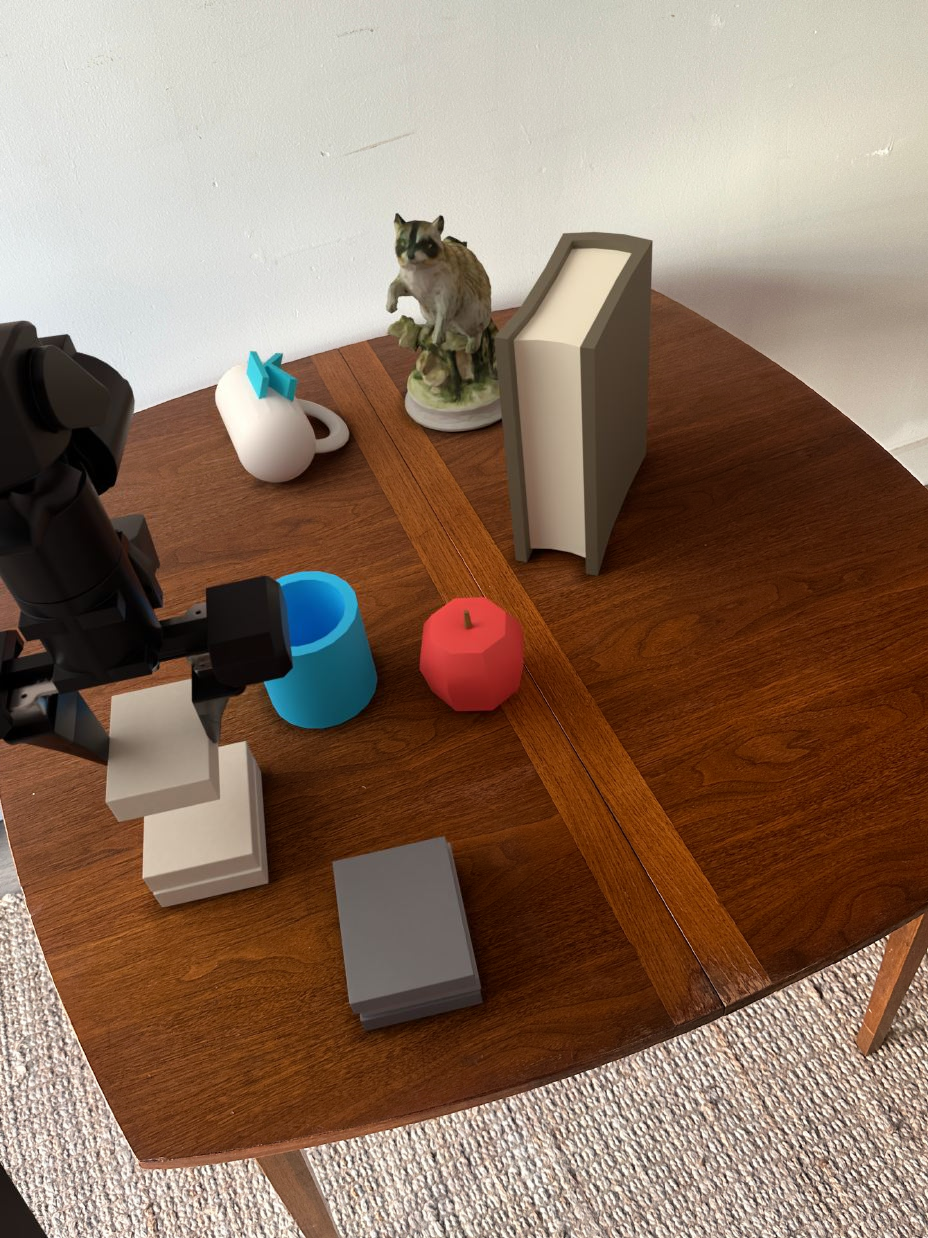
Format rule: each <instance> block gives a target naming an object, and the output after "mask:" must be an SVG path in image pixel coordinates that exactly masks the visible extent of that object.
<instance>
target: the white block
mask: <svg viewBox="0 0 928 1238" xmlns="http://www.w3.org/2000/svg"><path fill="white" fill-rule="evenodd" d="M109 719H110V720H109V721H110V722H109V737H110V740H109V756H108V766H107V768H106V769H107V772H106V773H107V774H106V786H105V787H106V788H105V789H106V791H105V803H106V805H107V806H108V808H109V809H110V811H111V812H112V814H113V815H114V817H115V818H116V820H117V821H118V823H122V822H125V821H130V820H131V821H132V820H135V819H139V818H144V816H149V815H153V814H157V813H162V812H166V811H171V810H175V809H180V808H184V807H189V806H193V805H197V804H202V803H206V802H211V801H215V800H219V799H220V779H219V750H218V747H219V743H215V744H214V743H213V742H212V741H211V740H210V739H209V738H208V737H207V735H206V733H205V730H204V728H203V726H202V724H201V721H200V719H199V717H198V715H197V712H196V710H195V708H194V705H193V703H192V682H191V678H188V679H187V678H186V679H184V680H179V681H178V680H177V681H174V682H169V683H165V684H160V685H156V686H152V687H147V688H146V687H145V688H142V689H138V690H132V691H128V692H124V693H123V692H122V693H119V694H114V695H112V696H111V703H110V718H109Z"/></svg>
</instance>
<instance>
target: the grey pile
mask: <svg viewBox="0 0 928 1238" xmlns="http://www.w3.org/2000/svg"><path fill="white" fill-rule="evenodd" d="M456 868H457V867H456V864H455V859H454V853H453V849H452V845H451V842H450V841H449V842H447V839H446V836H445V835H443V836H439V837H435V838H430V839H426V840H420V841H417V842H413V843H408V844H404V845H400V846H395V847H391V848H387V849H386V848H385V849H382V850H378V851H374V852H369V853H365V854H360V855H355V856H352V857H348V858H343V859H338V860H334V861H332V869H333V877H334V886H335V893H336V902H337V903H336V904H337V909H338V918H339V919H338V920H339V928H340V937H341V944H342V951H343V952H342V953H343V960H344V961H343V962H344V970H345V978H346V986H347V987H346V988H347V996H348V1002H349V1006H350V1008H351V1010H352V1012H353V1014H354V1015H359V1018H360V1019H359V1020H360V1023H361V1025H362V1027H363V1029H364V1031H365V1032H368V1031H372V1030H376V1029H380V1028H385V1027H388V1026H393V1025H397V1024H401V1023H406V1022H411V1021H415V1020H418V1019H422V1018H426V1017H429V1016H430V1017H431V1016H435V1015H440V1014H443V1013H446V1012H447V1013H448V1012H452V1011H456V1010H461V1009H465V1008H469V1007H472V1006H477V1005H481V1004H483V1002H484V1001H483V997H482V993H481V992H482V991H481V989H482V986H481V981H480V976H479V972H478V967H477V961H476V957H475V953H474V948H473V943H472V940H471V935H470V929H469V925H468V919H467V915H466V910H465V906H464V905H465V904H464V900H463V898H462V891H461V886H460V881H459V877H458V874H457V873H458V872H457V869H456Z"/></svg>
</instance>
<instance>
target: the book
mask: <svg viewBox="0 0 928 1238" xmlns="http://www.w3.org/2000/svg"><path fill="white" fill-rule="evenodd" d="M653 242H654V241H653V239H648V238H645V237H639V236H635V235H631V234H626V233H614V232H602V231H601V232H600V231H583V232H563V233H562V234H561V236H560V238H559V241H558V242H557V244H556V246H555V248H554V250H553V251H552V254H551V255H550V257H549V259H548V261H547V263H546V265H545V267H544V269H543V270H542V272H541V274H540V275H539V277H538V279H536V281H535V283H534V285H533V286H532V288H531V290H530V291H529V293H528V294H527V296H526V297H525V299H524V301H523V303H522V304H521V305H520V307H519V308H518V309H517V311H516V312H515V313H514V314H513V315H512V316H511V317H510V318H509V320H507V322H506V323H505V324H504V325H503V326H502V328H500V330H499V332H498V333H497V334H496V336H495V337H494V342H495V353H496V363H497V373H498V384H499V394H500V404H501V415H502V419H501V423H502V424H501V425H502V434H503V444H504V445H503V446H504V455H505V466H506V476H507V484H508V497H509V506H510V516H511V527H512V537H513V547H514V559H515V561H516V562H517V561H518V562H523V563H528V561H529V559H530V557H531V555H532V553H533V550H534V549H546V550H548V549H549V550H550V549H551V550H557V551H561V552H567V553H570V554H571V553H572V554H573V555H577V556H580V557H582V558H584V559H585V574H586V575H590V576H596V577H598V576H599V574H600V570H601V566H602V563H603V560H604V556H605V553H606V549H607V546H608V543H609V540H610V536H611V533H612V531H613V528H614V526H615V523H616V520H617V518H618V517H619V513H620V511H621V509H622V506H623V505H624V501H625V499H626V496H627V494H628V491H629V490H630V488H631V486H632V484H633V481H634V479H635V477H636V475H637V474H638V471H639V469H640V467H641V465H642V463H643V462H644V459H645V457H646V456H647V445H648V441H647V440H648V413H649V411H648V407H649V378H650V377H649V375H650V342H651V341H650V340H651V313H652V312H651V308H652V307H651V304H652V273H653V272H652V271H653Z"/></svg>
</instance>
